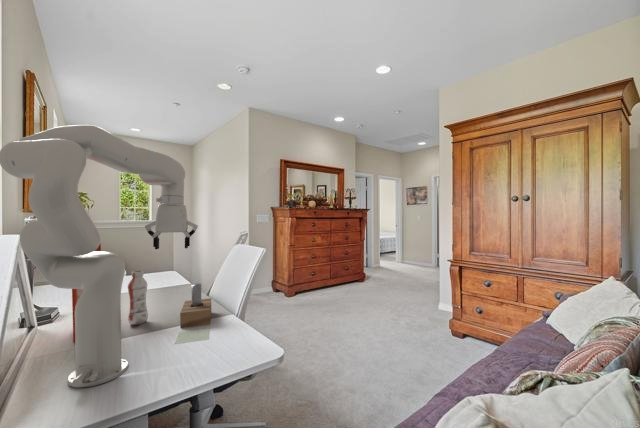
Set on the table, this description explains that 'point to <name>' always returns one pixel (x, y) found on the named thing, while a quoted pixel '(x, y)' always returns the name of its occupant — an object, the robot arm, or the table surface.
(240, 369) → the table surface
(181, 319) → the hole block
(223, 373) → the table surface
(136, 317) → the plastic bottle
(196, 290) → the peg
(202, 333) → the mat
